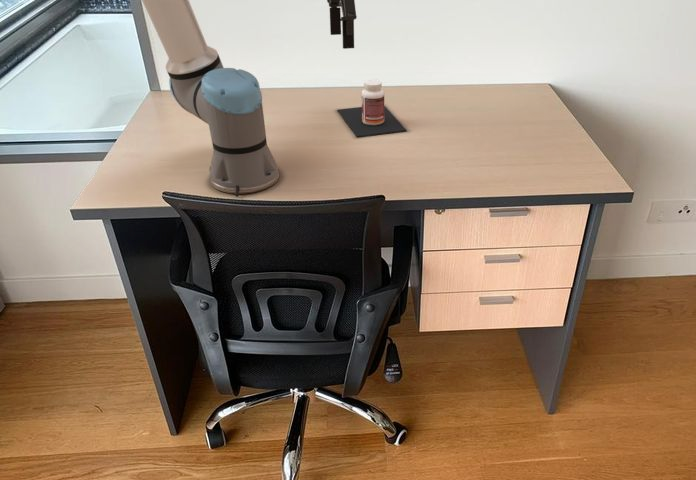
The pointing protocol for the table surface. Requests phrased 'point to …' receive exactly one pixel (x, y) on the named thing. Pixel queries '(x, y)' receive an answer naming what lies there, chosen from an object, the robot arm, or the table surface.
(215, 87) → the robot arm
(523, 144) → the table surface
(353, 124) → the mat
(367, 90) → the pill bottle
